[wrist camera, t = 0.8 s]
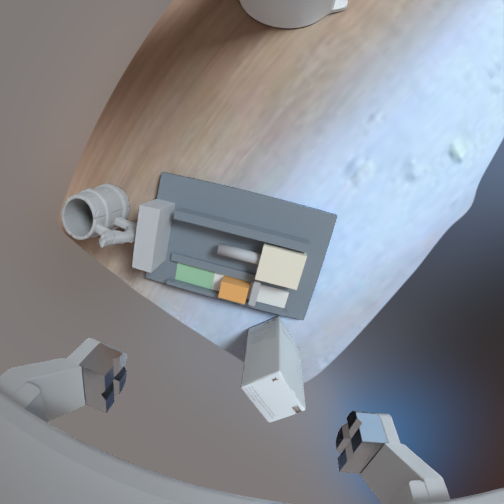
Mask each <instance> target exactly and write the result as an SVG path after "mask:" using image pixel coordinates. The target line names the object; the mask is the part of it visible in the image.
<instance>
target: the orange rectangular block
mask: <svg viewBox="0 0 504 504" xmlns="http://www.w3.org/2000/svg"><path fill="white" fill-rule="evenodd" d="M249 286H250V282H247V281H243V280H240V279H236V278H232V277H228V276H224V278H223V280H222V282H221V286H220V291H219V296H218V297H219V298H223V299H226V300H230V301H234V302H238V303H241V304H245V301H246V298H247V294H248V290H249Z"/></svg>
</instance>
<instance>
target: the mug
mask: <svg viewBox="0 0 504 504" xmlns="http://www.w3.org/2000/svg"><path fill="white" fill-rule="evenodd" d="M128 200H129V199H128V196H127V194H126V193H125V192H124V191H123V190H122V189H121V188H118V187H117V186H115V185H112V184H107V183H106V184H102V185H99V186H97V187H95V188H94V189H92V188H88V189H86V190H83V191H81V192H79V193H78V194H76V195H73V196H71V197H69V198H68V199H67V200H66V201H65V205H64V206H63V209H62V223H63V226H64V228H65V230H66V232H67V233H68V234H69V235H72V237H73V238H75V239H77V240H84V239H87V238H94V237H97V236H99V235H100V236H101V237H100V239H99V245H100V247H101V248H103V247H104V246H106V245H110V244H112V245H113V244H124V243H126V242H128V243H133V242H134V241H135V236H136V229H137V223H136V222H132V221H129V220H126V219H127V218H128V215H129V212H130V203H129V202H128ZM118 228H122V229H125V230H126V231H124V232H121V231H117V230H116V229H118Z"/></svg>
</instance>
